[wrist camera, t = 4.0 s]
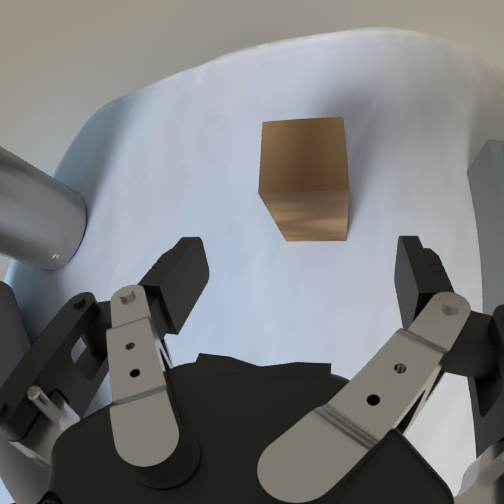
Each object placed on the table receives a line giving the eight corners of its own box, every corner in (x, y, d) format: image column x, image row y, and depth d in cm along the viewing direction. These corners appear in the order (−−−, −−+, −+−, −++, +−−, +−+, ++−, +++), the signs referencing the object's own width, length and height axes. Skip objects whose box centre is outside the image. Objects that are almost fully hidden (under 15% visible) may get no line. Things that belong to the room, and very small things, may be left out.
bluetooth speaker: (2, 323, 30) (-59, 312, 21) (35, 286, 30) (-35, 267, 20) (69, 492, 22) (5, 514, 13) (115, 480, 22) (41, 512, 12)
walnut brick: (286, 241, 23) (258, 193, 15) (287, 187, 24) (262, 122, 16) (346, 240, 22) (349, 190, 14) (344, 185, 23) (342, 117, 15)
